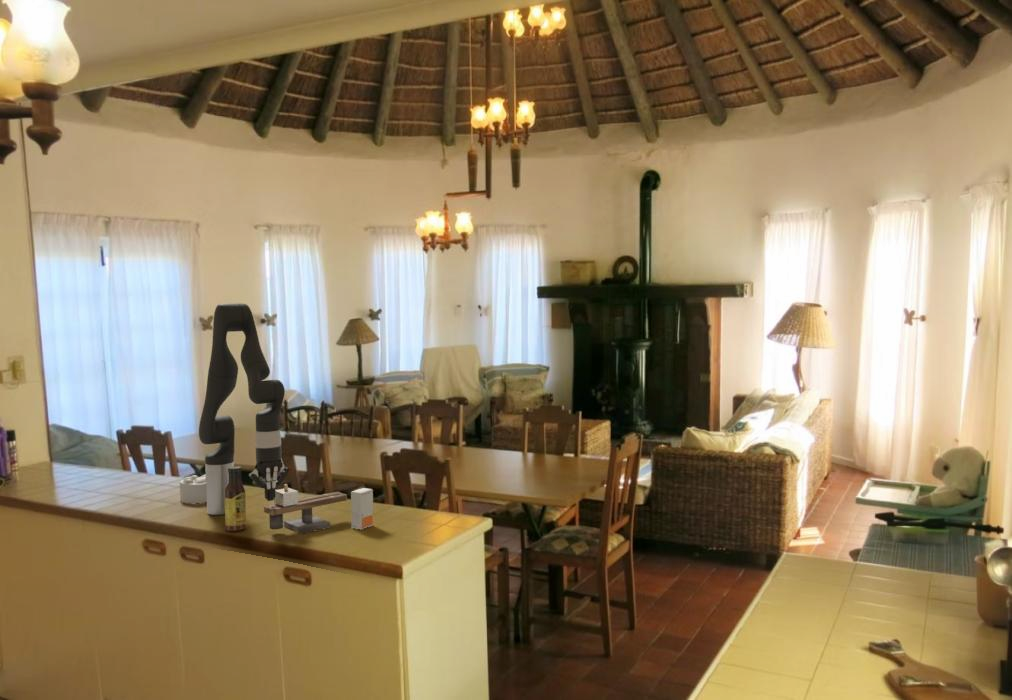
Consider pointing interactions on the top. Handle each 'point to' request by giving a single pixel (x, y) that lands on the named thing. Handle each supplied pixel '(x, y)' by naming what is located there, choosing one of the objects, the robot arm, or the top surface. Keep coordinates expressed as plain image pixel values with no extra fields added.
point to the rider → (286, 496)
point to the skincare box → (362, 508)
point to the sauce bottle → (235, 501)
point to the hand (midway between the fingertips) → (270, 500)
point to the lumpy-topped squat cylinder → (193, 489)
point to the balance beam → (303, 513)
